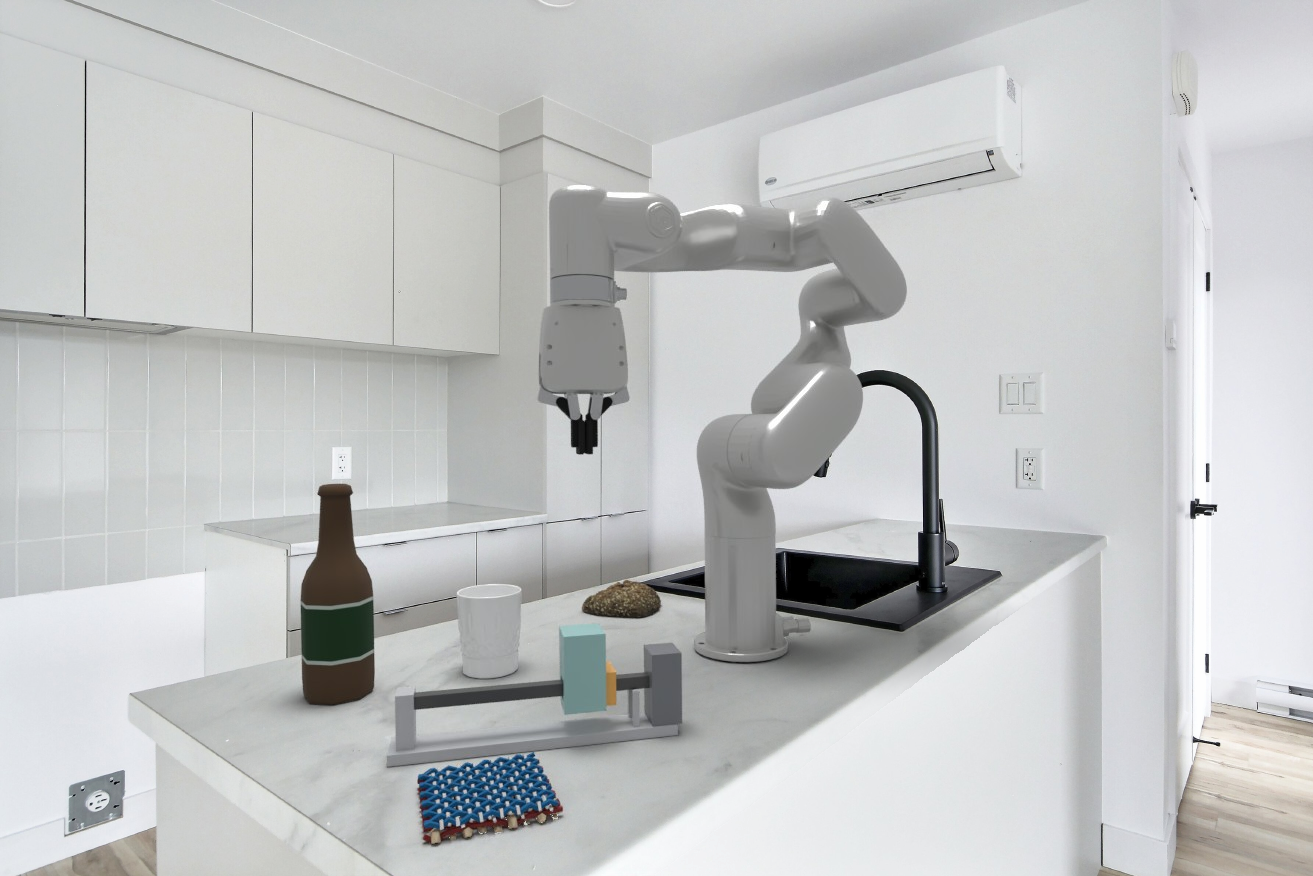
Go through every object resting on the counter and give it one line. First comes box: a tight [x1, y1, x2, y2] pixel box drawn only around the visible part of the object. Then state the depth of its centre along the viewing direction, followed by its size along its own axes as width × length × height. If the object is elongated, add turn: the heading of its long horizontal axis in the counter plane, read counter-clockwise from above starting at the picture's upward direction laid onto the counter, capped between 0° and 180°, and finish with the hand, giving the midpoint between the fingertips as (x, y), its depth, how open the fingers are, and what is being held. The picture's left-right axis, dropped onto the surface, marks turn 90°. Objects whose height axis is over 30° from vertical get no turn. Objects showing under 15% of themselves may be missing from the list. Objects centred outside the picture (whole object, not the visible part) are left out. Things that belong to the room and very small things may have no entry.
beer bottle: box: [299, 483, 376, 706], centre depth 86 cm, size 8×8×24 cm
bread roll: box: [581, 579, 662, 619], centre depth 125 cm, size 13×12×5 cm
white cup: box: [456, 583, 522, 680], centre depth 94 cm, size 8×8×10 cm
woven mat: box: [417, 751, 564, 845], centre depth 61 cm, size 10×11×2 cm
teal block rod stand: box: [386, 642, 683, 768], centre depth 73 cm, size 28×4×8 cm, turn 103°
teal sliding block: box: [558, 622, 607, 716], centre depth 73 cm, size 4×4×7 cm
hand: (584, 453), depth 88 cm, fingers closed
